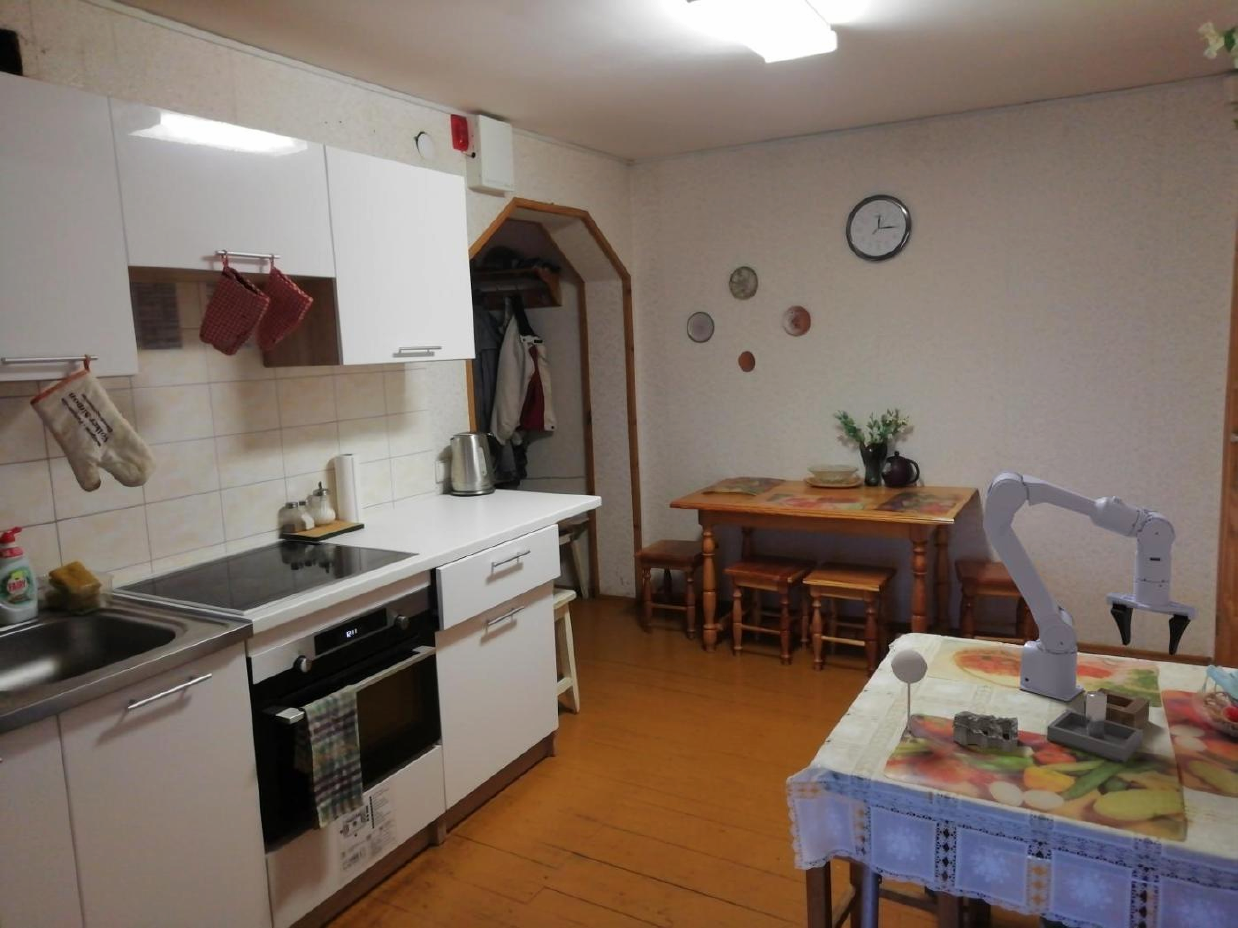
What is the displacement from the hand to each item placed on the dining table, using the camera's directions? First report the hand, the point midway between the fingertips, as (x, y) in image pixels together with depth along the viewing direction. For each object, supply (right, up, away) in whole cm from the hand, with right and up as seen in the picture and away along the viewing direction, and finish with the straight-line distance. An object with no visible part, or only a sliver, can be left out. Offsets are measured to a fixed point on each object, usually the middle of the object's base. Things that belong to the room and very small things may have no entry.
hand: (1149, 648), depth 159 cm
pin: (-17, -13, -13) cm, 25 cm away
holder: (-10, -12, -6) cm, 16 cm away
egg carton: (-35, -14, -10) cm, 39 cm away
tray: (-17, -13, -13) cm, 25 cm away
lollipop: (-47, -14, -5) cm, 49 cm away
